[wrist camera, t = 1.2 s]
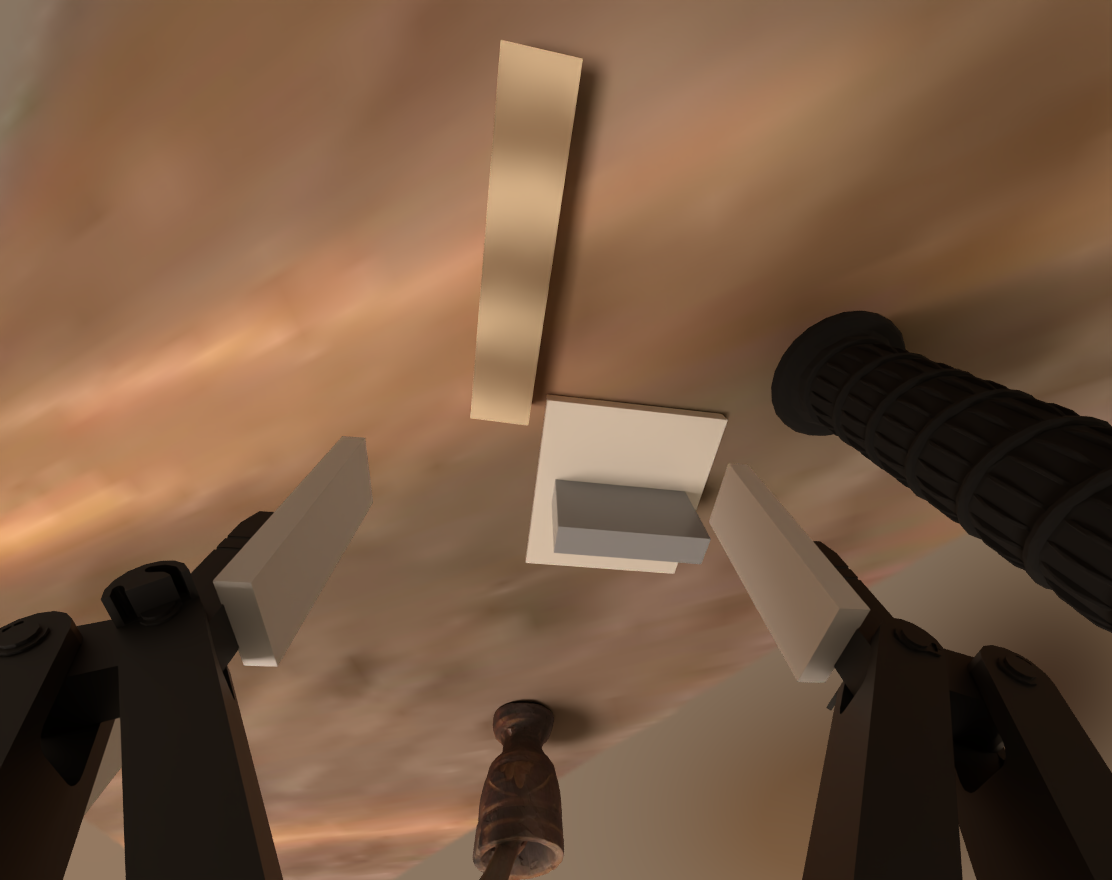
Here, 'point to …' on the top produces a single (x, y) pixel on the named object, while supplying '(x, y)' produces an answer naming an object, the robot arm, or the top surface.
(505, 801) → the mortar and pestle
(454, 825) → the top surface
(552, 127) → the maple bar
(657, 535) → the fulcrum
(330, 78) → the top surface
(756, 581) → the robot arm
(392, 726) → the top surface
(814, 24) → the top surface
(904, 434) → the handle grip
